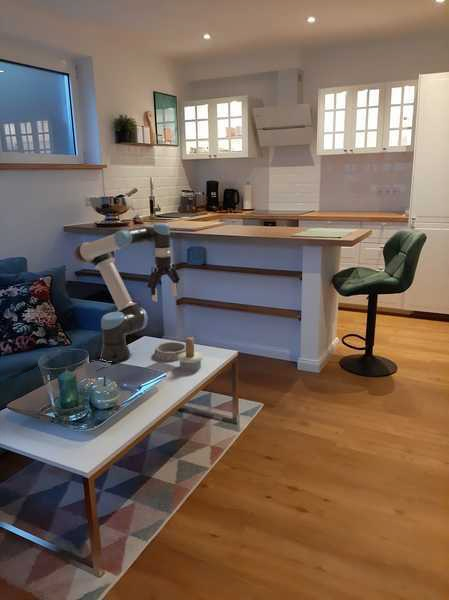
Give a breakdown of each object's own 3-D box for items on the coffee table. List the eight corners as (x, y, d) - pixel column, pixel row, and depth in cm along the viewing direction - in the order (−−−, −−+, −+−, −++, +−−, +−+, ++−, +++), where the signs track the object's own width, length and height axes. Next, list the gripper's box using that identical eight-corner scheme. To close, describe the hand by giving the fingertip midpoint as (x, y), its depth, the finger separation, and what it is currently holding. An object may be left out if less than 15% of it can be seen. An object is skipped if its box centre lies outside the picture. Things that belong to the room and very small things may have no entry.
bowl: (176, 369, 234) (175, 359, 233) (189, 363, 242) (189, 353, 240) (191, 374, 228) (191, 363, 227) (204, 367, 236) (204, 357, 234)
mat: (140, 371, 233) (140, 369, 233) (159, 362, 243) (159, 361, 243) (159, 377, 225) (159, 376, 225) (178, 368, 235) (178, 367, 235)
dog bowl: (190, 350, 260) (190, 341, 258) (184, 363, 242) (184, 353, 241) (159, 349, 261) (159, 340, 260) (151, 362, 244) (150, 352, 242)
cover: (172, 359, 232) (171, 339, 230) (189, 352, 242) (188, 332, 239) (191, 365, 225) (190, 344, 223) (207, 357, 235) (207, 337, 232)
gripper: (149, 260, 221) (151, 304, 227) (185, 253, 240) (187, 294, 246) (138, 258, 225) (140, 302, 231) (174, 251, 245) (176, 292, 250)
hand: (164, 298), depth 238 cm, fingers open, 13 cm apart
